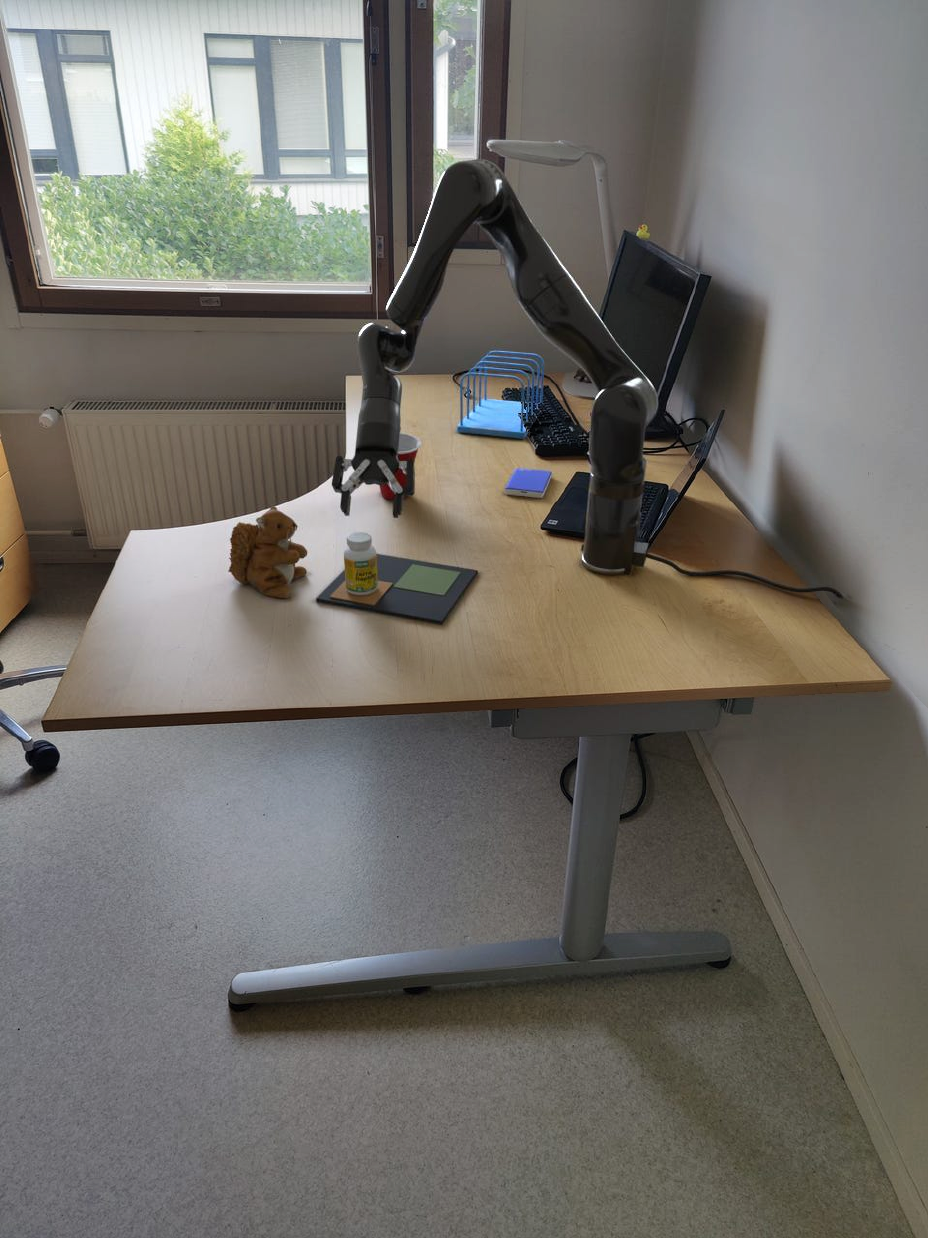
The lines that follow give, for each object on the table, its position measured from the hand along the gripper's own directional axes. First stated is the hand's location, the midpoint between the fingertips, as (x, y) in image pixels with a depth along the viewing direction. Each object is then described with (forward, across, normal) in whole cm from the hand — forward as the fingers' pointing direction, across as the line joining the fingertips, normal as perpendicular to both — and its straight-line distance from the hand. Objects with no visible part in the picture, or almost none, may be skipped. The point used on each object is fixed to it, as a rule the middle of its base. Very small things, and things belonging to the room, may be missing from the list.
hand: (370, 515), depth 153 cm
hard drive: (-22, +27, +36) cm, 51 cm away
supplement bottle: (+14, 0, -1) cm, 14 cm away
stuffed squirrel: (+13, -17, +1) cm, 21 cm away
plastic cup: (-17, 0, +30) cm, 35 cm away
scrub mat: (+12, +6, +2) cm, 14 cm away
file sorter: (-54, +20, +68) cm, 89 cm away
